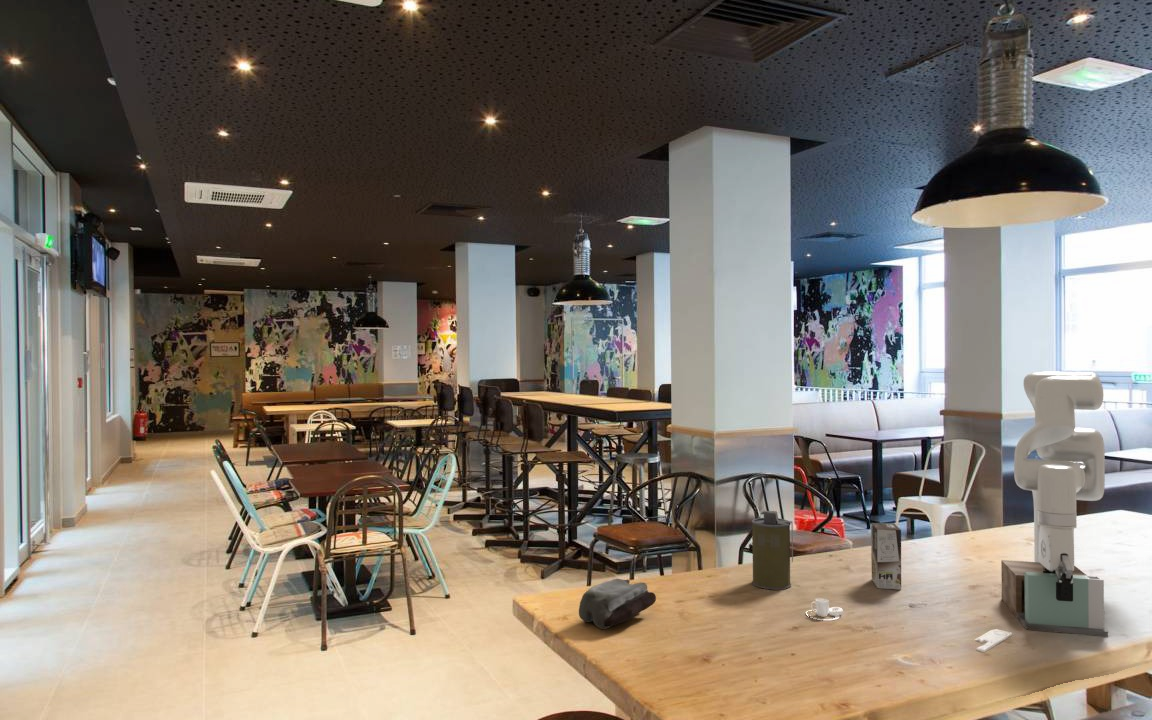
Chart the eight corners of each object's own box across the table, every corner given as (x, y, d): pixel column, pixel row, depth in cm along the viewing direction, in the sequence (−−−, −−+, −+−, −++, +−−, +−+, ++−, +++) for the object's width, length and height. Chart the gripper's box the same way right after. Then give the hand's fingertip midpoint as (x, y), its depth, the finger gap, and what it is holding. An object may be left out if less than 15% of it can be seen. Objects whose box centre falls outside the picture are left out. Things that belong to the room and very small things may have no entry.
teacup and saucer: (843, 613, 187) (842, 597, 187) (843, 624, 180) (843, 607, 180) (805, 610, 190) (805, 593, 190) (804, 620, 183) (804, 603, 183)
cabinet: (1001, 599, 196) (1001, 560, 196) (1073, 604, 191) (1072, 564, 191) (1026, 629, 174) (1026, 585, 174) (1108, 636, 169) (1107, 591, 169)
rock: (613, 639, 171) (613, 601, 171) (571, 628, 178) (571, 592, 178) (658, 615, 186) (658, 581, 187) (618, 606, 194) (618, 573, 194)
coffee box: (902, 590, 204) (901, 529, 204) (877, 588, 206) (876, 529, 206) (895, 580, 213) (894, 522, 213) (870, 579, 215) (870, 521, 215)
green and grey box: (1024, 618, 178) (1024, 571, 178) (1099, 624, 174) (1098, 576, 174) (1028, 623, 175) (1028, 575, 175) (1104, 629, 171) (1103, 580, 171)
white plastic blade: (959, 647, 165) (959, 642, 165) (988, 631, 175) (988, 626, 175) (984, 653, 161) (984, 648, 161) (1012, 637, 171) (1012, 632, 171)
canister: (749, 587, 208) (748, 514, 208) (755, 577, 217) (754, 507, 217) (790, 592, 204) (789, 517, 204) (794, 581, 213) (794, 509, 213)
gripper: (1027, 511, 184) (1028, 582, 184) (1050, 526, 167) (1050, 604, 167) (1063, 512, 182) (1063, 585, 182) (1089, 528, 165) (1090, 607, 165)
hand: (1057, 594), depth 175 cm, fingers open, 9 cm apart
